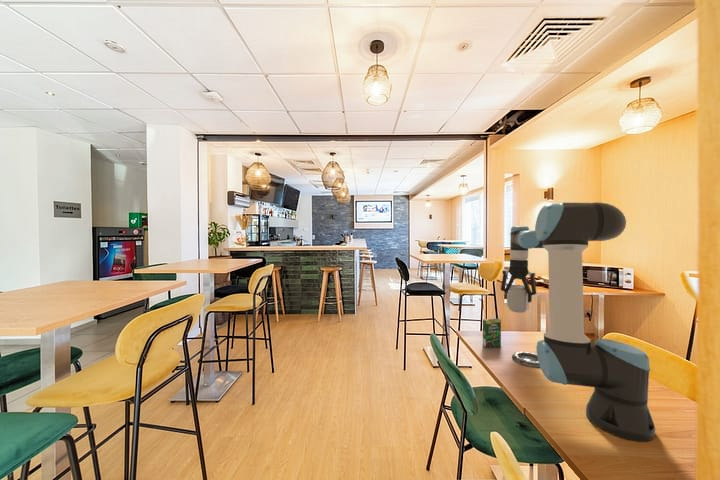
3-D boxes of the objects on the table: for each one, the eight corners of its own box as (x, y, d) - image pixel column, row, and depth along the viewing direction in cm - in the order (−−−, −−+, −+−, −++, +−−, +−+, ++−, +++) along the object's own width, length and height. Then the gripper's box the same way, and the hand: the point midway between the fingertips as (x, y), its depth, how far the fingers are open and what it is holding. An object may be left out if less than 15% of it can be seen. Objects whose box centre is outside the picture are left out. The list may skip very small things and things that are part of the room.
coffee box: (485, 348, 141) (485, 320, 140) (481, 345, 144) (482, 318, 143) (501, 347, 142) (501, 320, 141) (497, 345, 145) (498, 318, 144)
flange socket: (552, 369, 120) (552, 365, 120) (516, 365, 123) (516, 362, 123) (540, 355, 133) (540, 352, 133) (508, 352, 136) (508, 349, 135)
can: (512, 307, 147) (513, 283, 146) (529, 311, 141) (530, 285, 141) (505, 310, 142) (506, 285, 142) (522, 314, 136) (523, 287, 136)
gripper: (545, 260, 136) (544, 309, 137) (498, 257, 150) (497, 302, 151) (541, 261, 131) (540, 313, 132) (493, 258, 145) (492, 305, 146)
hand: (517, 307), depth 142 cm, fingers closed on can, 7 cm apart
